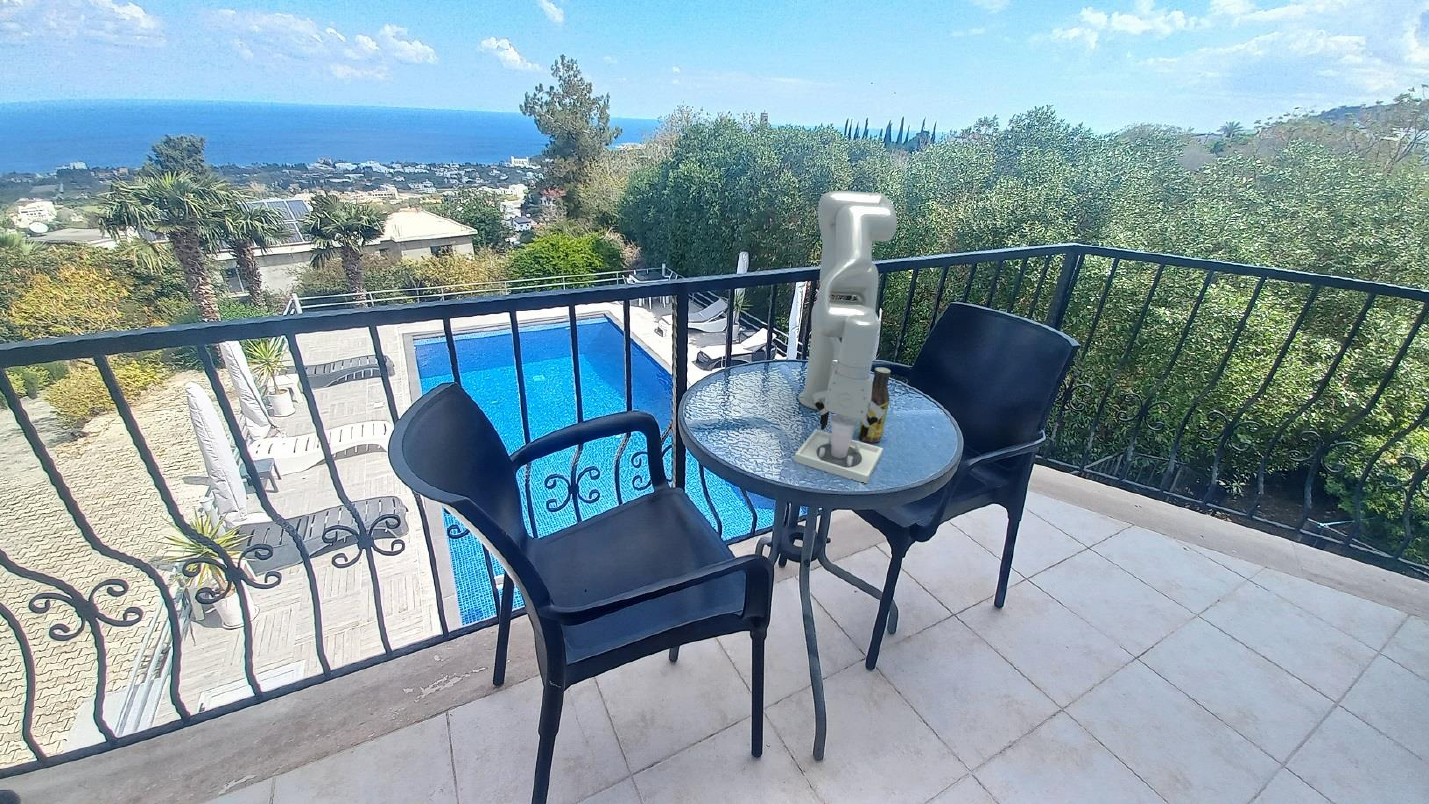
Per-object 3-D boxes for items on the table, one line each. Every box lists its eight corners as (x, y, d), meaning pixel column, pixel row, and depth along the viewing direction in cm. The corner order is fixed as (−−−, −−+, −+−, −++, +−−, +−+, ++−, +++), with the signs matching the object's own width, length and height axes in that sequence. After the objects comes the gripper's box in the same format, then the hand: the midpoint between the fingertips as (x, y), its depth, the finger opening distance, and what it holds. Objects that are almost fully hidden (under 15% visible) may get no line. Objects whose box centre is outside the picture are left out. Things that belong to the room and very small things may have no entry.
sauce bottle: (876, 446, 142) (891, 377, 133) (854, 439, 144) (866, 371, 136) (884, 436, 147) (898, 369, 138) (861, 429, 150) (874, 363, 141)
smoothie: (853, 450, 137) (861, 401, 130) (850, 463, 131) (858, 412, 125) (827, 445, 138) (834, 396, 132) (823, 457, 133) (830, 407, 127)
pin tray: (814, 436, 145) (815, 424, 143) (881, 455, 138) (883, 443, 136) (794, 461, 133) (795, 449, 131) (866, 484, 126) (868, 471, 124)
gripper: (812, 365, 125) (804, 429, 133) (887, 383, 118) (873, 450, 126) (823, 356, 131) (814, 417, 139) (895, 372, 124) (881, 436, 132)
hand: (842, 433), depth 132 cm, fingers open, 9 cm apart
